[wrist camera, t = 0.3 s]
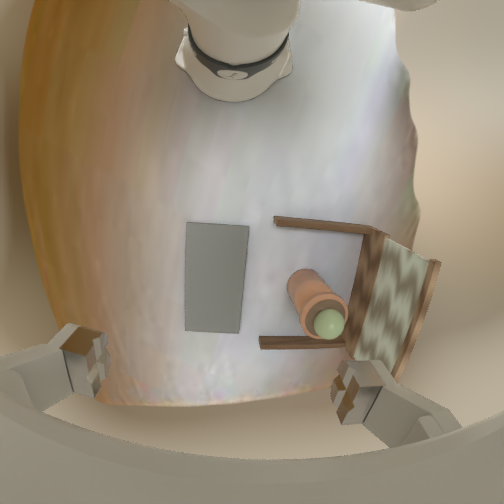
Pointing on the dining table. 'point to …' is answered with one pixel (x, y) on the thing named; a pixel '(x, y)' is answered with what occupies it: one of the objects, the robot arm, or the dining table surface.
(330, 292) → the seedling pot
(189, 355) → the dining table surface
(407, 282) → the brown wooden frame
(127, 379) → the dining table surface
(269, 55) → the robot arm
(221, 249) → the potting mat
